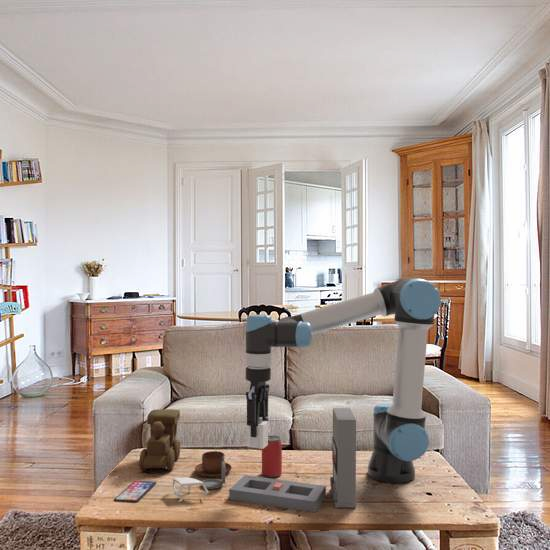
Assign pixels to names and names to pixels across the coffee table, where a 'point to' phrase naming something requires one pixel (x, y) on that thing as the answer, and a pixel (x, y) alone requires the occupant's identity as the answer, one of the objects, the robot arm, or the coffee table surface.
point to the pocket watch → (216, 482)
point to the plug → (260, 434)
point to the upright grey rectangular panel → (344, 458)
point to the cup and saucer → (212, 464)
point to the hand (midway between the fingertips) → (257, 444)
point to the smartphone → (135, 491)
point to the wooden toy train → (161, 440)
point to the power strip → (278, 493)
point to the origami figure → (189, 483)
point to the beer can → (272, 457)
